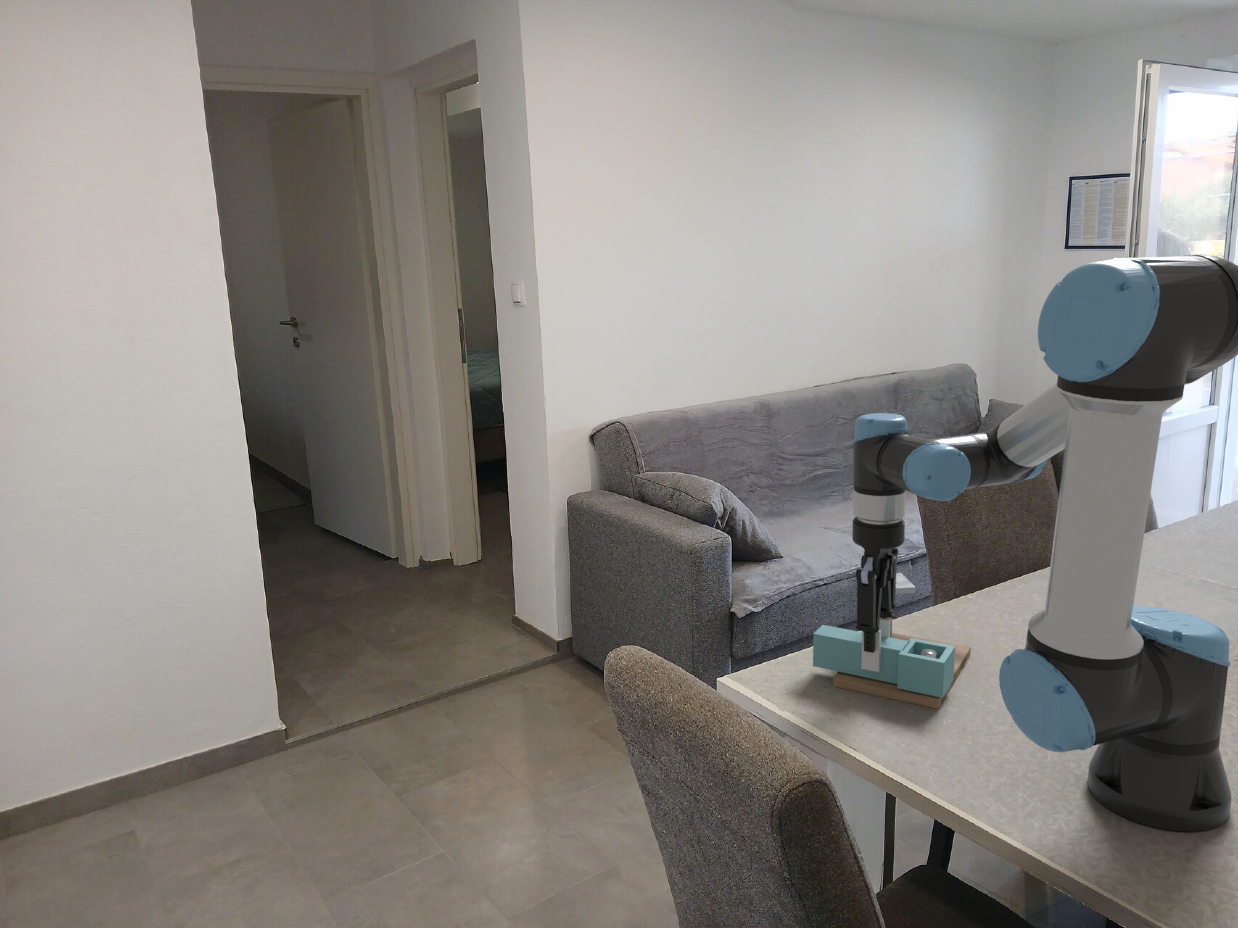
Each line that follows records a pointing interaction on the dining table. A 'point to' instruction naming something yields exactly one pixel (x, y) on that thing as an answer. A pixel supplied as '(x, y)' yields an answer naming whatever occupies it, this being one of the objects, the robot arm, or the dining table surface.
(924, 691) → the link
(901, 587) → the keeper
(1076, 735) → the robot arm
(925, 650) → the cylinder
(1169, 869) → the dining table surface
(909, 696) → the board
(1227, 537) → the dining table surface
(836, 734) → the dining table surface
